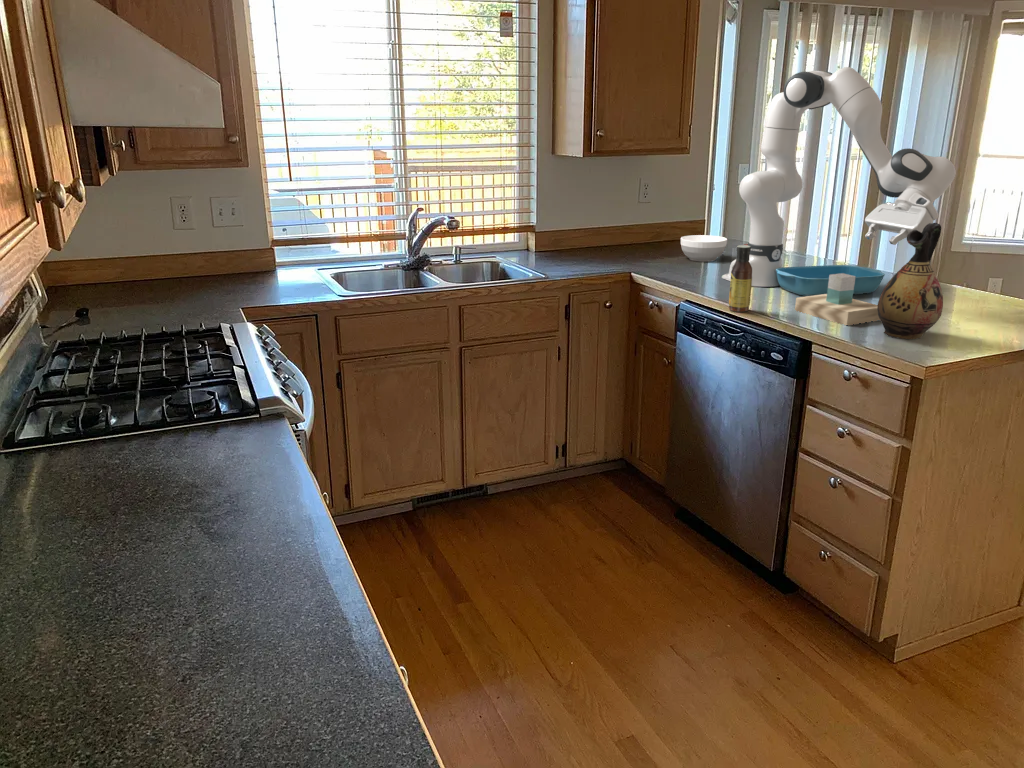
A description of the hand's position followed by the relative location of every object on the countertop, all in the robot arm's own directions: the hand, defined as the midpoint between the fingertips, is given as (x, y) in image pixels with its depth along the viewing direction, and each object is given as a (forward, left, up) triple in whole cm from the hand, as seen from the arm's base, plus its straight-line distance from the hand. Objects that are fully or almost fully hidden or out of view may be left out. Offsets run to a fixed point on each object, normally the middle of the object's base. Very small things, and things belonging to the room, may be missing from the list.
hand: (879, 240), depth 224 cm
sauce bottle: (-18, -35, -21) cm, 45 cm away
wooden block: (0, -13, -21) cm, 25 cm away
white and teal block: (0, -13, -17) cm, 22 cm away
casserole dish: (-27, +11, -22) cm, 36 cm away
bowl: (-95, +11, -21) cm, 98 cm away
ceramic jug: (+24, -13, -21) cm, 35 cm away
